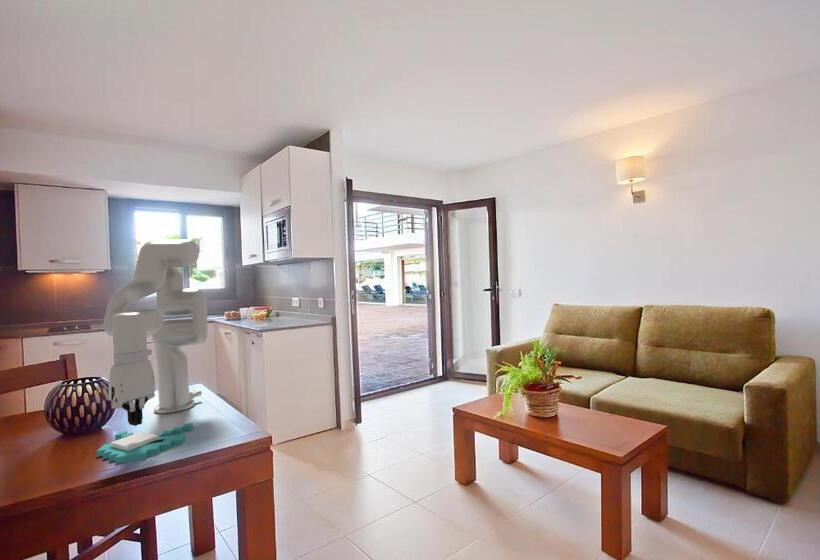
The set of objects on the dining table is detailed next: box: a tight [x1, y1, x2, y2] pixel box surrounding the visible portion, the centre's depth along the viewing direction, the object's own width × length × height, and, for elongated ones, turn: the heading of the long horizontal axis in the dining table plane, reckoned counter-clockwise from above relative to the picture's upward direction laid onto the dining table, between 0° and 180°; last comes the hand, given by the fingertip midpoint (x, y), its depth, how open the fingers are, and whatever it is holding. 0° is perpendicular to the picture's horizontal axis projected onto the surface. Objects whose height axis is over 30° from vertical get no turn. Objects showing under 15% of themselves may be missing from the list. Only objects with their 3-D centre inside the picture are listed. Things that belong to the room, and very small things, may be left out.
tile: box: [109, 431, 158, 451], centre depth 113 cm, size 1×8×8 cm
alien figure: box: [96, 422, 194, 465], centre depth 115 cm, size 20×2×20 cm
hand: (135, 424), depth 113 cm, fingers closed
